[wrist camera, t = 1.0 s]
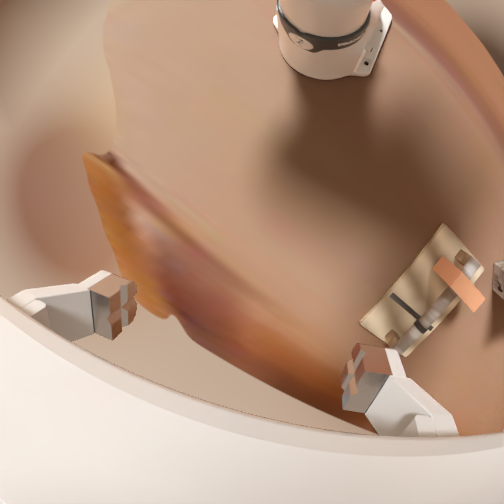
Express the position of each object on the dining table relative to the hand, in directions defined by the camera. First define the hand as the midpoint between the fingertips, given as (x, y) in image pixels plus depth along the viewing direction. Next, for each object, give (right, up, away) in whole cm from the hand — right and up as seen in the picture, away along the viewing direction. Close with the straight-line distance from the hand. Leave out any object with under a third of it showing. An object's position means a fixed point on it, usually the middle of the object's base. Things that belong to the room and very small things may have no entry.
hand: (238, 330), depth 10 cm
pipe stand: (+33, -5, +37) cm, 50 cm away
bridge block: (+36, -1, +33) cm, 49 cm away
